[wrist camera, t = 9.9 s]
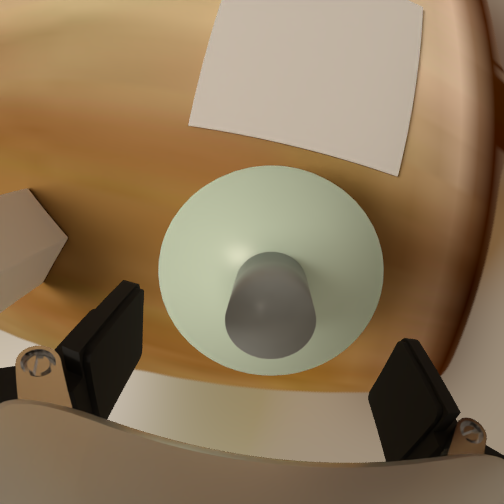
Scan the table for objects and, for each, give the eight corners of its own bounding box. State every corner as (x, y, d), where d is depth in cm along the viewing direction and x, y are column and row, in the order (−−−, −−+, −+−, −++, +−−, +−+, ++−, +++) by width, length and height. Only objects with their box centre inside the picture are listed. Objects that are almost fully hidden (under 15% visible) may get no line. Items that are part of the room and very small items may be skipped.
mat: (237, -40, 16) (236, -42, 16) (420, 9, 16) (423, 7, 16) (189, 125, 21) (188, 125, 21) (395, 175, 21) (397, 176, 21)
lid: (180, 145, 16) (145, 142, 11) (404, 198, 16) (448, 216, 11) (157, 341, 20) (130, 388, 15) (338, 378, 20) (350, 429, 15)
